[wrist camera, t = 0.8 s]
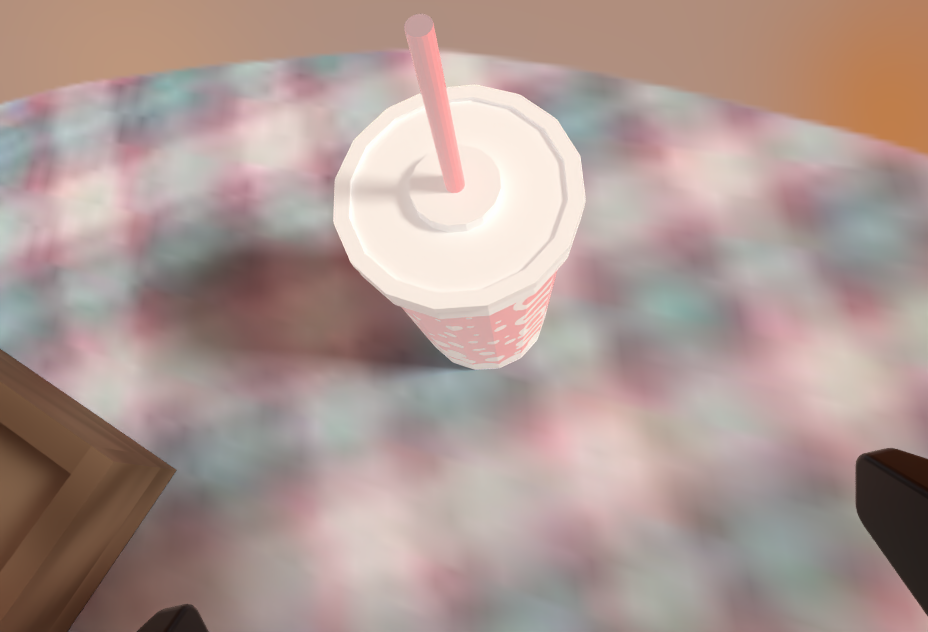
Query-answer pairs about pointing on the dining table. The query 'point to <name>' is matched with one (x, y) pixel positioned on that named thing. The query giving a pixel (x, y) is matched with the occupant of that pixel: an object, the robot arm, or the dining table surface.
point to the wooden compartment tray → (62, 500)
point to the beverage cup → (461, 210)
